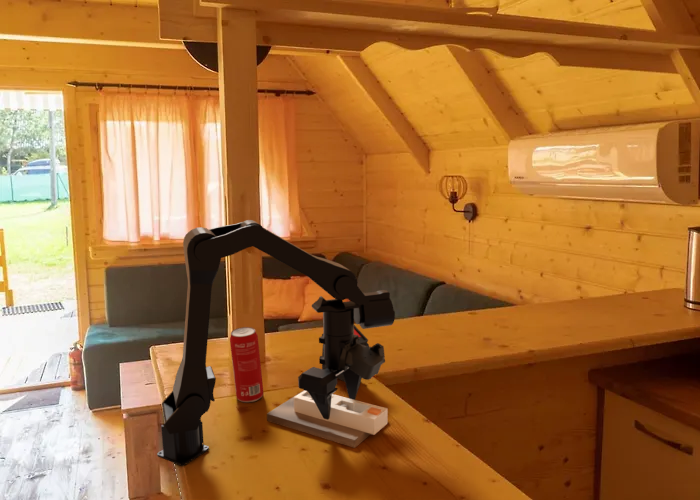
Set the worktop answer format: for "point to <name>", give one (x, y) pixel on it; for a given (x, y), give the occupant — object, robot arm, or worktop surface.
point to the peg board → (315, 425)
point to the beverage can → (246, 364)
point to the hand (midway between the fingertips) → (339, 409)
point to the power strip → (345, 412)
